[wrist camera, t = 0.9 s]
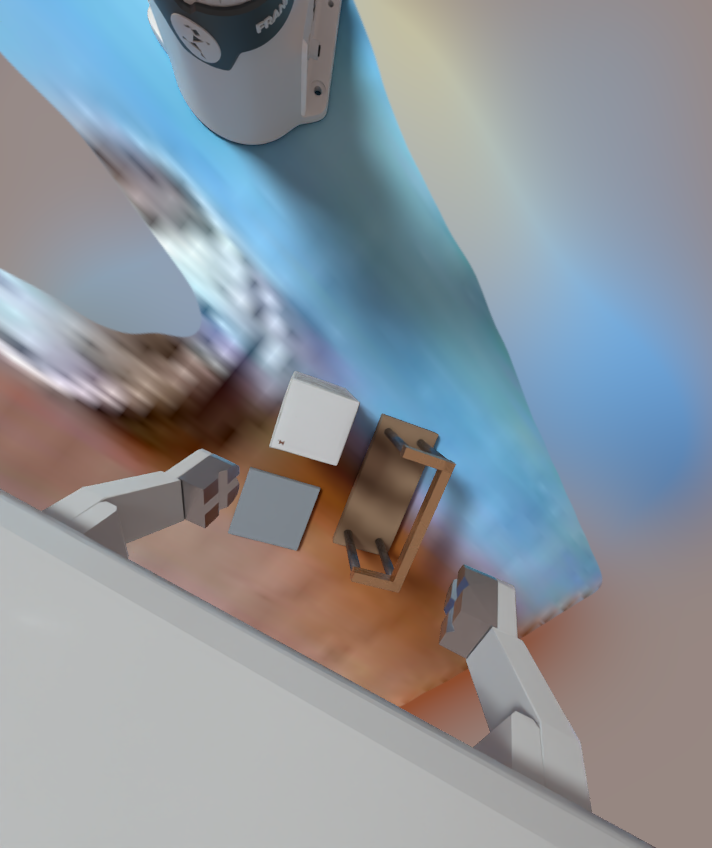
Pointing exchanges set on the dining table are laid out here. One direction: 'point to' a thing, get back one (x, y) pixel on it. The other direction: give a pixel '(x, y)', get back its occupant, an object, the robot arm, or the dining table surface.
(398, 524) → the brown board
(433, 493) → the wooden post stand
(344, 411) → the supplement box
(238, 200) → the dining table surface
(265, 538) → the mat
